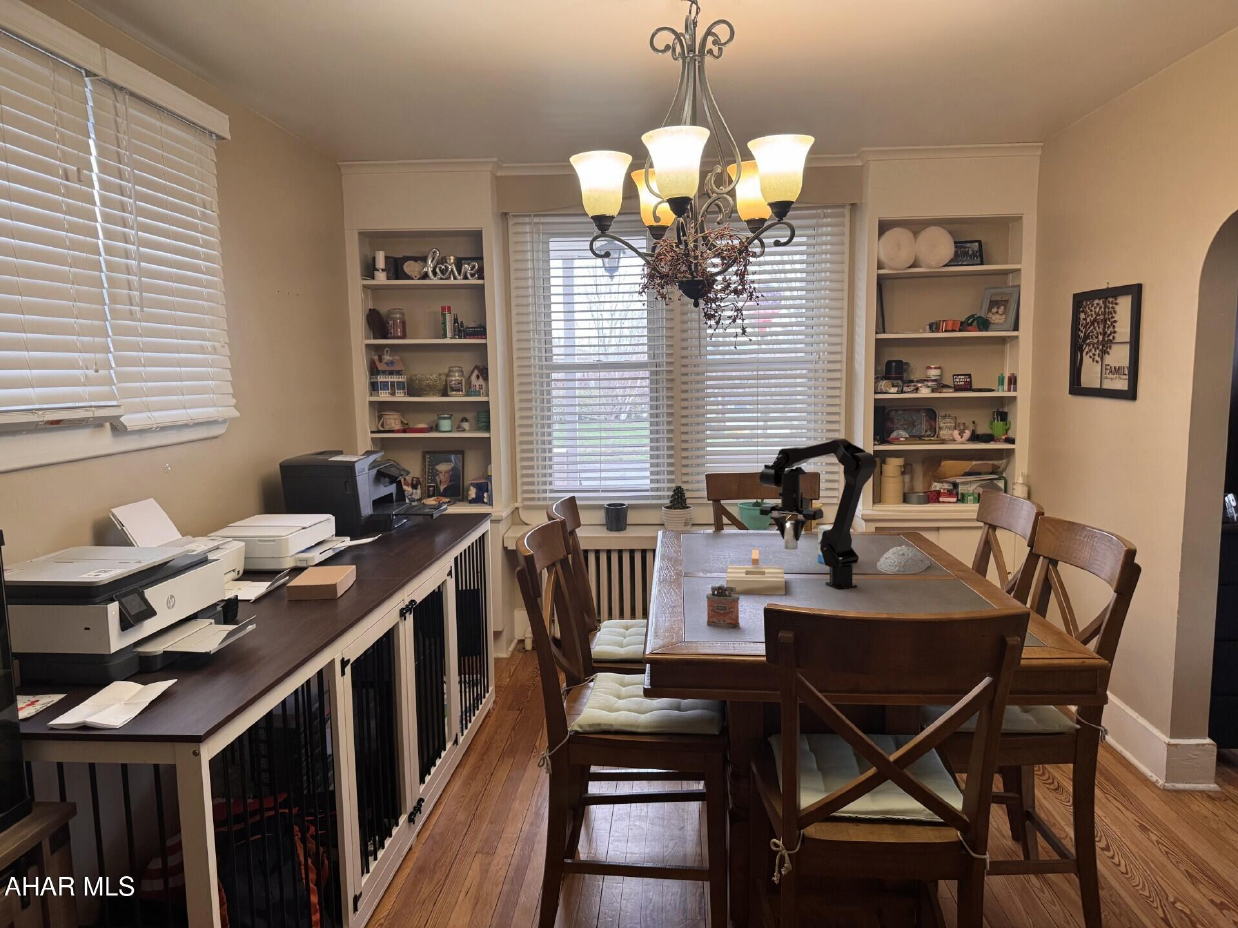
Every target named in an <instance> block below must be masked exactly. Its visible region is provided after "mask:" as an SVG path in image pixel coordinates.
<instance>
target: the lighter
mask: <svg viewBox="0 0 1238 928" xmlns="http://www.w3.org/2000/svg"><path fill="white" fill-rule="evenodd" d="M710 591H711V593H707V594H706V595H705V596H706V607H707V608H706V610H707V611H706V612H707V613H706V616H707V620H706V626H708V627H711V628H712V627H713V628H719V629H721V628H722V629H739V628H740V624H741V623H740V622H739V621H740V615H739V614H740V610H739V604H740V603H739V601H740V596H739V595H738V594H731V592H736V587H735V586H726V585H725V584H719V585H711V586H710ZM726 592H728V594H727V593H726Z"/></svg>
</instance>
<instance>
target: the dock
mask: <svg viewBox="0 0 1238 928" xmlns="http://www.w3.org/2000/svg"><path fill="white" fill-rule="evenodd" d="M726 571H727V572H726V578H725V584H726V585H725V587H726V586H735V587H736V592H731V595H738V594H739V595H740V594H741V595H779V594H786V591H785V590H786V587H785V586H786V581H785V572H784V567H783V566H770V565H769V566H764V565H763V566H759V565H728V567H727V570H726ZM726 593H727V594H728V592H726Z"/></svg>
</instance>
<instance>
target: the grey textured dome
mask: <svg viewBox="0 0 1238 928" xmlns="http://www.w3.org/2000/svg"><path fill="white" fill-rule="evenodd" d="M876 567H877V569H878V570H879V571H881V572H883V573H887V574H891V575H892V574H893V575H894V574H897V575H898V574H900V575H910V574H912V575H913V574H918V573H921V572H923V571H925V570H927V568H928V567H931V563H930V561H929V560H928V559H927V558H926V557H925V555H923V553H922V552H920V550H918V548H915V547H911V546H907V545H902V546H894V547H893V548H890V549H889V550H888V551H886V552H885V553H884V554H883V555H882V556H881V557H880V559H879V561H877V562H876Z"/></svg>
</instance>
